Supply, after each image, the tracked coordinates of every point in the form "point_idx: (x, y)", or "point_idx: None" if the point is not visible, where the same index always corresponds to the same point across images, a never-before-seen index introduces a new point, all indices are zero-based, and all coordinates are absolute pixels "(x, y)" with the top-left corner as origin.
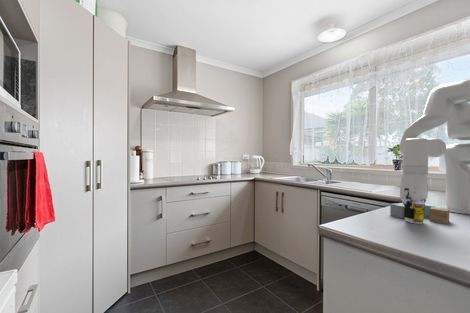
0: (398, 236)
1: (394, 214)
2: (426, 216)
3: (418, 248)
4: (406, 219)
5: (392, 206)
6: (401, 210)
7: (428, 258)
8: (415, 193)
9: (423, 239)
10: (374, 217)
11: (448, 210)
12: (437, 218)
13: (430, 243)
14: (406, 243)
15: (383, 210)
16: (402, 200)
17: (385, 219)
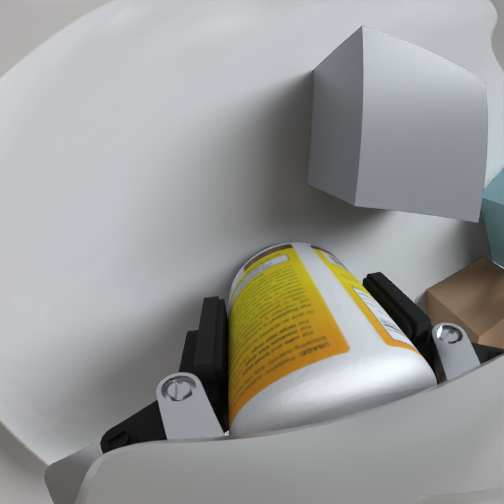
0: (18, 389)
1: (317, 107)
2: (489, 228)
3: (31, 434)
4: (232, 286)
5: (348, 63)
6: (333, 190)
7: (28, 448)
8: None
9: (79, 431)
10: (78, 108)
11: None
12: None
13: (78, 444)
14: (18, 415)
15: None
16: (66, 467)
17: (114, 177)
